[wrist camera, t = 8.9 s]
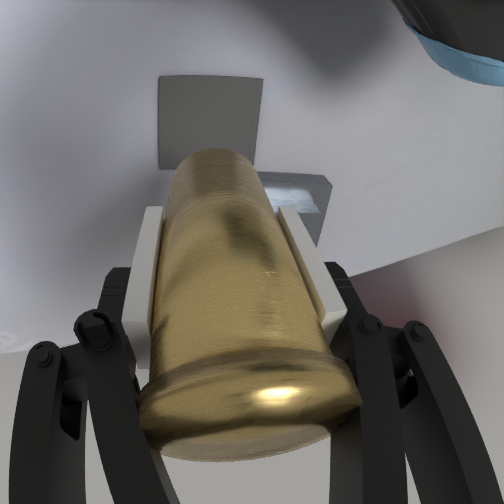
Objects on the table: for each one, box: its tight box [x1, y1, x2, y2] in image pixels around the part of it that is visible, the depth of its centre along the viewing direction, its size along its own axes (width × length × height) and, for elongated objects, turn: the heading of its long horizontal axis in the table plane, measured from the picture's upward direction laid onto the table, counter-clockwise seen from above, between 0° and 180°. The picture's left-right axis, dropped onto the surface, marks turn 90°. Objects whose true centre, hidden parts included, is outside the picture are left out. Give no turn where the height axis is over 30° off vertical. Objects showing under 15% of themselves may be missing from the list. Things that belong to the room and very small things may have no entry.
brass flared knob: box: [137, 148, 363, 462], centre depth 12 cm, size 6×6×14 cm
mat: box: [159, 75, 263, 170], centre depth 31 cm, size 11×11×1 cm
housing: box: [257, 172, 332, 248], centre depth 38 cm, size 14×14×6 cm
